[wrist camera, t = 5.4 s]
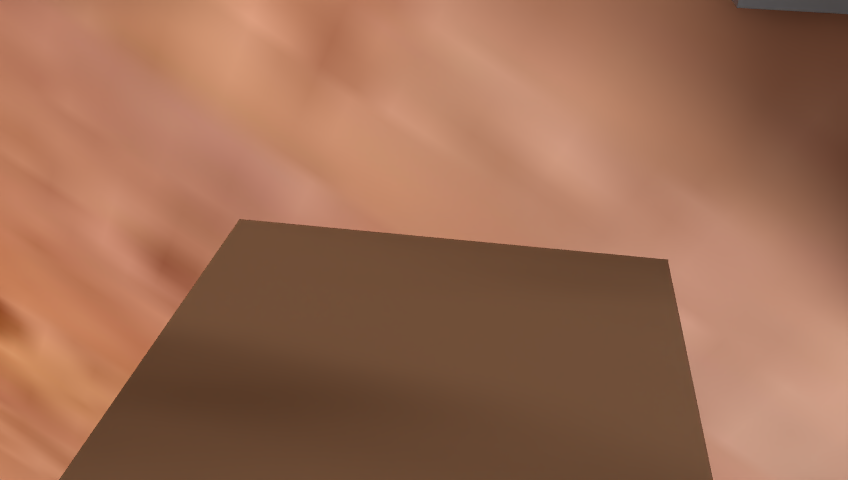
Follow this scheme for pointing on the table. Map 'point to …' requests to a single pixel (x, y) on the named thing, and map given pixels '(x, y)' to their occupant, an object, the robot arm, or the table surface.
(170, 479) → the walnut block
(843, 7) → the square panel
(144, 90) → the table surface
